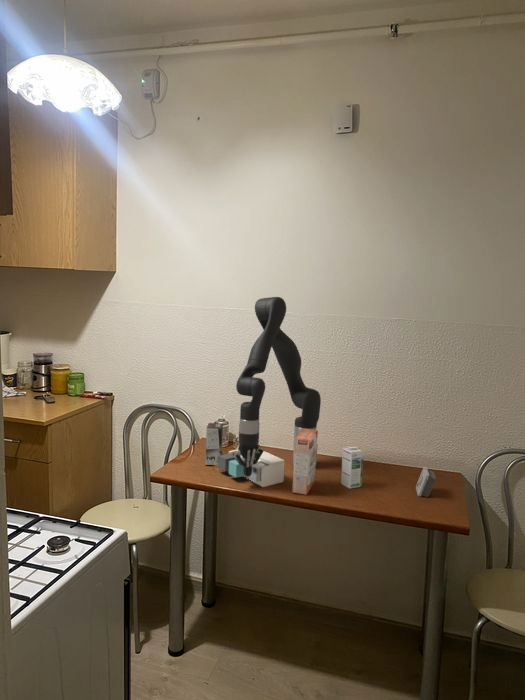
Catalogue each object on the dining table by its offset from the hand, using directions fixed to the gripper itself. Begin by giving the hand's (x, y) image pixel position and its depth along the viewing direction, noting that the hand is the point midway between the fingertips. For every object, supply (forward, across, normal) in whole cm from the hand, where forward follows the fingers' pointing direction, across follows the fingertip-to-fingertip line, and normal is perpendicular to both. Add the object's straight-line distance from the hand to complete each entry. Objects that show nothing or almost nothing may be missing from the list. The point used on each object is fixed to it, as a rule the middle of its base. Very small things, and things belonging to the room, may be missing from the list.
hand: (247, 475), depth 192 cm
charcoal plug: (+2, -3, -15) cm, 16 cm away
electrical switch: (+4, -52, +40) cm, 66 cm away
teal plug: (+2, -3, -8) cm, 8 cm away
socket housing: (+4, -9, -8) cm, 13 cm away
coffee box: (+4, -3, -28) cm, 29 cm away
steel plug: (+2, -7, 0) cm, 8 cm away
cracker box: (+4, -17, +12) cm, 22 cm away
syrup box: (+4, -34, +20) cm, 40 cm away
